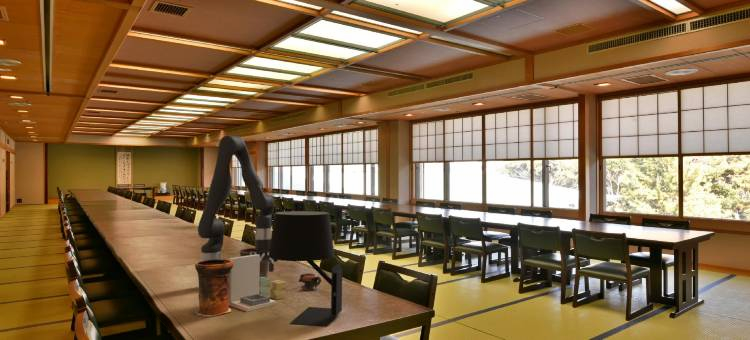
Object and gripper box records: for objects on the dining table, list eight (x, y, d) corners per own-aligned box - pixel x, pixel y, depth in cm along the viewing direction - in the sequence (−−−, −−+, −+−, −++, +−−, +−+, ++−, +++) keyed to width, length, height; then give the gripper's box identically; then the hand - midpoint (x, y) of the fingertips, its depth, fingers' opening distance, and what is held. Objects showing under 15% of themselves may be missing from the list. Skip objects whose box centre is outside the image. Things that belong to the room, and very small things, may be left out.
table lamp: (329, 328, 160) (331, 216, 161) (255, 323, 165) (258, 214, 166) (346, 308, 185) (348, 211, 186) (282, 304, 190) (283, 209, 191)
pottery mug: (295, 291, 214) (295, 274, 218) (304, 296, 222) (303, 279, 226) (318, 286, 211) (317, 269, 216) (326, 291, 219) (325, 275, 224)
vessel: (210, 319, 168) (211, 265, 169) (186, 313, 175) (187, 262, 176) (240, 310, 180) (241, 260, 181) (217, 305, 188) (217, 257, 188)
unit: (227, 304, 188) (228, 258, 188) (255, 298, 199) (256, 254, 199) (247, 311, 179) (248, 262, 179) (276, 304, 189) (276, 258, 190)
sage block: (254, 293, 207) (255, 278, 207) (263, 291, 210) (264, 276, 211) (261, 295, 203) (261, 280, 204) (270, 293, 207) (270, 278, 207)
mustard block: (269, 297, 201) (270, 281, 201) (278, 295, 205) (279, 279, 205) (276, 299, 198) (277, 283, 198) (285, 297, 202) (286, 281, 202)
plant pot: (277, 280, 233) (278, 249, 234) (254, 286, 220) (254, 253, 220) (255, 276, 242) (256, 246, 242) (231, 282, 228) (232, 250, 229)
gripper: (271, 235, 215) (271, 269, 215) (245, 238, 204) (245, 274, 204) (281, 237, 210) (280, 271, 210) (255, 240, 199) (255, 276, 199)
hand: (263, 273), depth 207 cm, fingers open, 8 cm apart
